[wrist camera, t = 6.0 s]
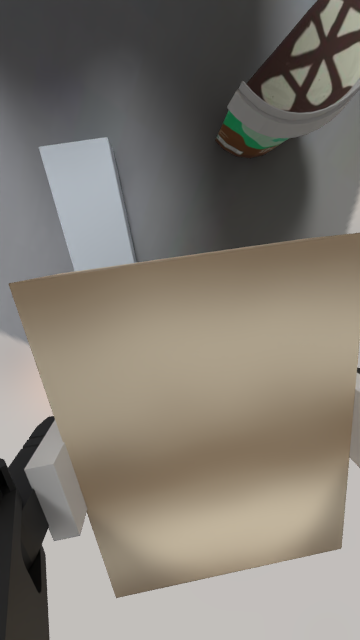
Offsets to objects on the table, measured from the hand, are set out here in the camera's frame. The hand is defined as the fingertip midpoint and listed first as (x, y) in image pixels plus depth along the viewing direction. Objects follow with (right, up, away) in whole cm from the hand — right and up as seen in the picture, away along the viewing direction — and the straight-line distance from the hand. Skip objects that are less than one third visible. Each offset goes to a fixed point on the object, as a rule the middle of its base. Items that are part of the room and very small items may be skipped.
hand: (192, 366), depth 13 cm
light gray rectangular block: (-9, +12, +12) cm, 20 cm away
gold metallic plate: (0, -1, -3) cm, 3 cm away
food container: (+8, +22, +11) cm, 27 cm away
